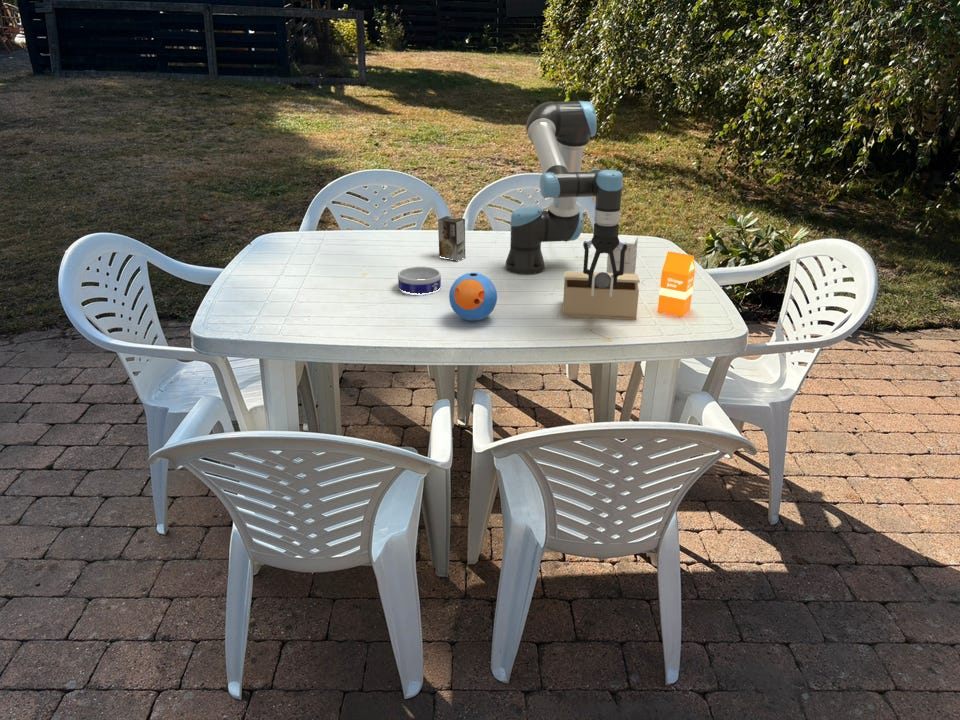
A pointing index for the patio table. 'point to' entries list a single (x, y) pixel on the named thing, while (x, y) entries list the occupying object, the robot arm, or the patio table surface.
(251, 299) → the patio table surface
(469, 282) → the treat dispenser ball
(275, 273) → the patio table surface
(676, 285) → the orange juice
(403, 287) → the dog bowl
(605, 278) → the carton lid
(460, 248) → the coffee box
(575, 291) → the carton
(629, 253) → the supplement box
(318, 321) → the patio table surface
